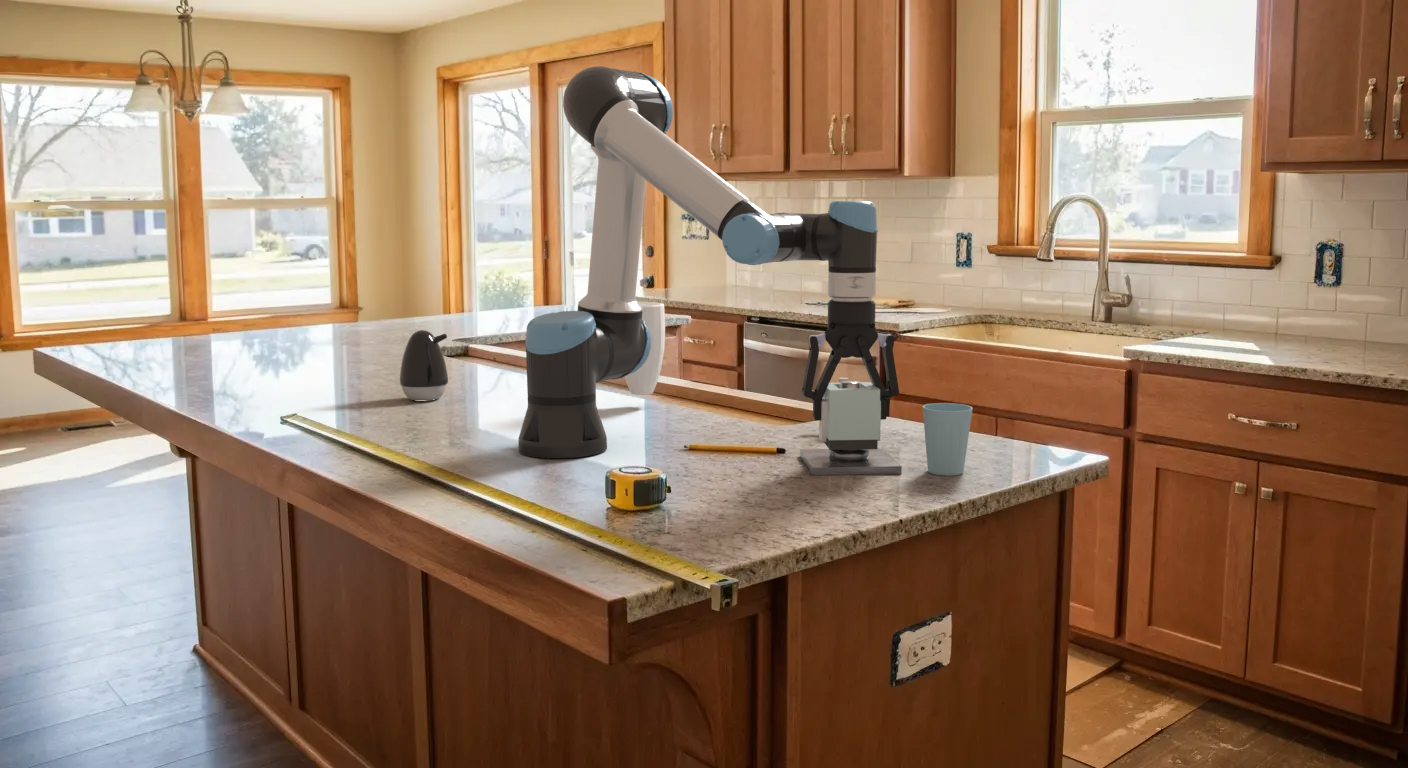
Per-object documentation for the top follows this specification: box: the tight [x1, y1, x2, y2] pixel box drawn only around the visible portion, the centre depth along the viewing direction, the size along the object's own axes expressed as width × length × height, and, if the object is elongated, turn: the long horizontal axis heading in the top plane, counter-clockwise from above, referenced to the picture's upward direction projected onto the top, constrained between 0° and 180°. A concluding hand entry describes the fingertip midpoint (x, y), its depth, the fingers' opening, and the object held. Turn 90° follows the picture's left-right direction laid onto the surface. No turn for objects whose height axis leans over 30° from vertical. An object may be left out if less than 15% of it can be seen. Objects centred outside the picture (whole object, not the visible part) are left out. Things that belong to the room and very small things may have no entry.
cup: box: [922, 402, 973, 477], centre depth 185 cm, size 8×8×10 cm
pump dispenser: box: [399, 329, 449, 401], centre depth 255 cm, size 10×10×15 cm
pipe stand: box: [799, 380, 903, 476], centre depth 190 cm, size 14×14×14 cm
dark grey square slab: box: [823, 437, 879, 450], centre depth 191 cm, size 8×8×2 cm
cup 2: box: [624, 301, 666, 396], centre depth 245 cm, size 10×10×22 cm
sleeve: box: [822, 381, 880, 440], centre depth 190 cm, size 8×8×8 cm
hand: (849, 439), depth 191 cm, fingers closed on sleeve, 8 cm apart
